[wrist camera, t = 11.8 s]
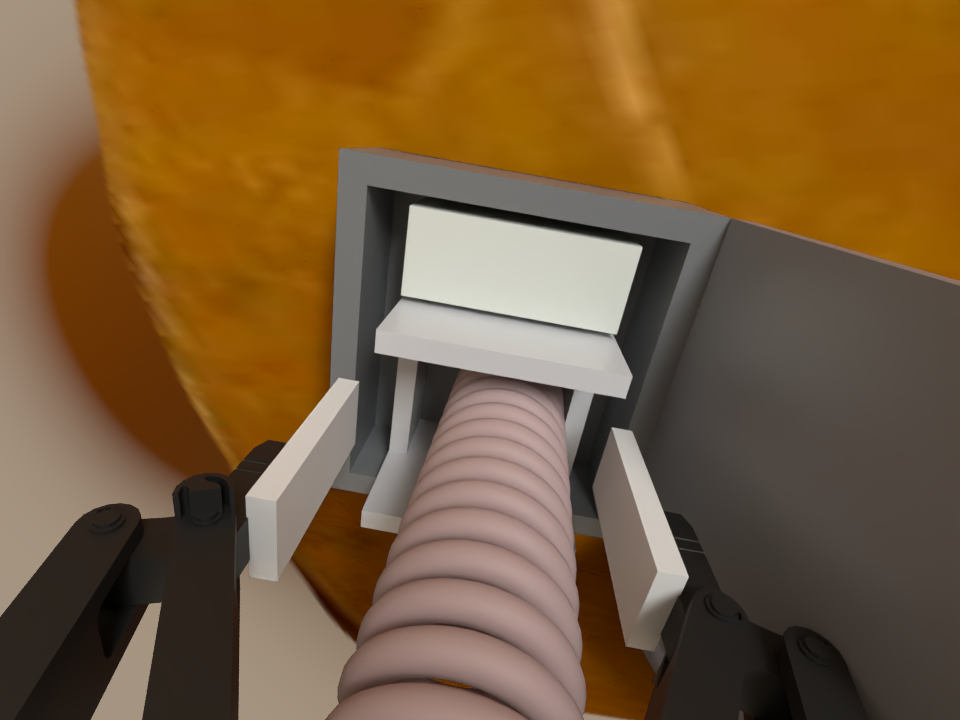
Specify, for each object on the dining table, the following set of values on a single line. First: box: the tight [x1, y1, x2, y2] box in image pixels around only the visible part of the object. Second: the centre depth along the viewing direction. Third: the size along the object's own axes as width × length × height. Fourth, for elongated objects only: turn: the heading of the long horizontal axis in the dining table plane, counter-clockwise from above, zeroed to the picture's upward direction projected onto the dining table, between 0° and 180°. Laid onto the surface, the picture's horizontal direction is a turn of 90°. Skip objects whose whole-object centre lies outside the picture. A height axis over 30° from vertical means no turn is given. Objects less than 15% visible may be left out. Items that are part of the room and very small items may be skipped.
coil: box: [325, 369, 586, 720], centre depth 15 cm, size 5×5×18 cm
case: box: [330, 148, 960, 720], centre depth 15 cm, size 14×16×18 cm
